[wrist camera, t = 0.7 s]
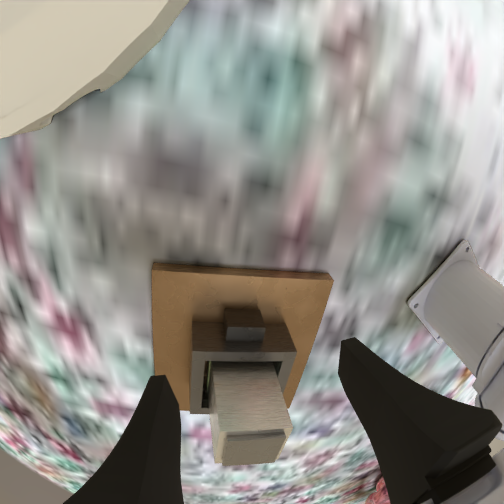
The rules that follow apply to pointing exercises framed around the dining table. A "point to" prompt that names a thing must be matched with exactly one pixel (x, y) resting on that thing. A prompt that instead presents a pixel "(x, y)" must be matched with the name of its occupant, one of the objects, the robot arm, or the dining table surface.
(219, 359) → the stand base
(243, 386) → the grayish brown rectangular block
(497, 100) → the dining table surface
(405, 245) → the dining table surface
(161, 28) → the ashtray
